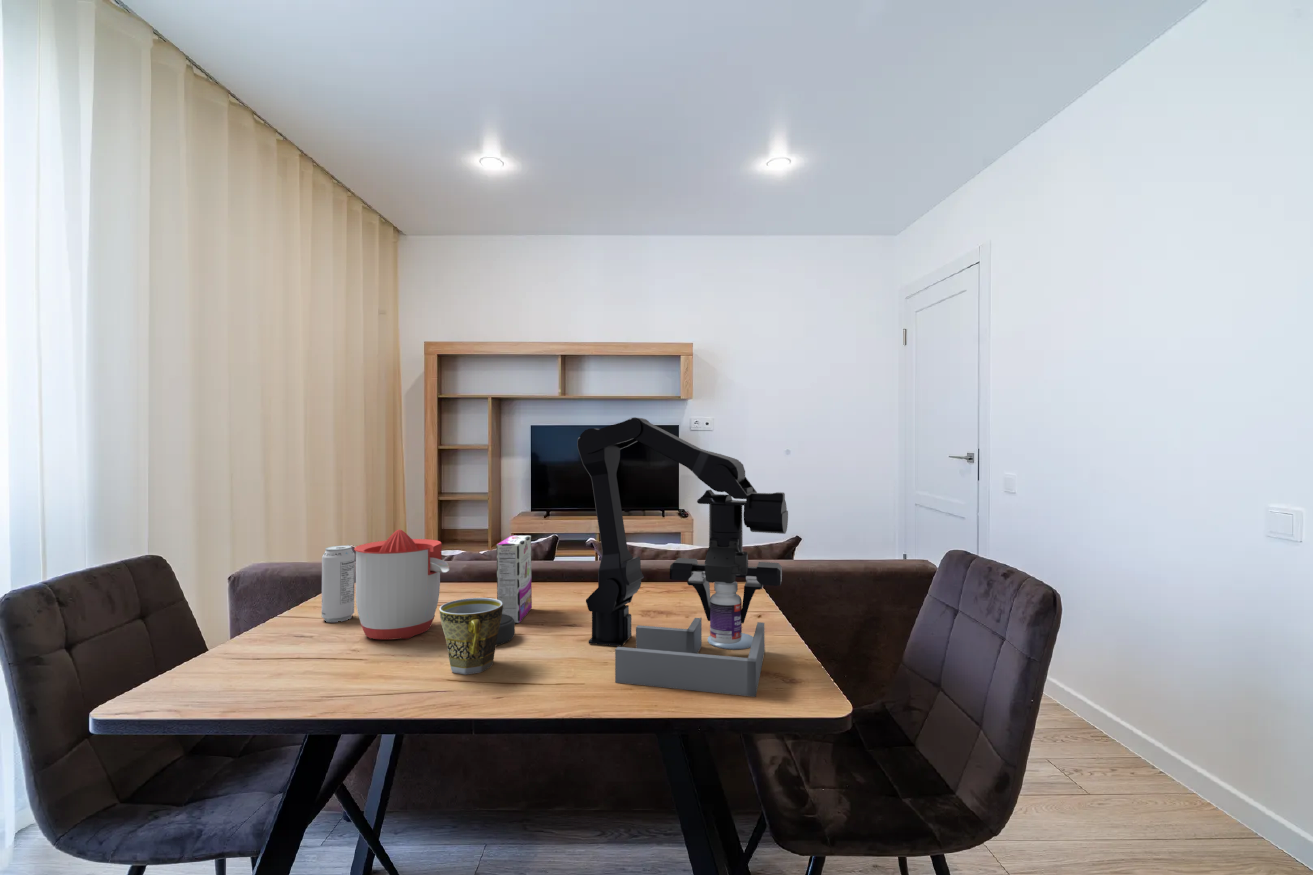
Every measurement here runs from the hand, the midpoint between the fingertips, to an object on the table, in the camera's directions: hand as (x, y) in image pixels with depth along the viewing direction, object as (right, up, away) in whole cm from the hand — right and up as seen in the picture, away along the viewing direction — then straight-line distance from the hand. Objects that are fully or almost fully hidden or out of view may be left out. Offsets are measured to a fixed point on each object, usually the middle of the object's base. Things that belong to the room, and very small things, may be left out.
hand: (725, 621), depth 99 cm
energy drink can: (-79, -7, +22) cm, 82 cm away
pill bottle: (0, -3, 0) cm, 3 cm away
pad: (+2, -6, +8) cm, 10 cm away
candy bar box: (-42, -7, +24) cm, 49 cm away
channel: (-6, -6, -4) cm, 9 cm away
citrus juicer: (-61, -7, +14) cm, 63 cm away
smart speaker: (-43, -7, +9) cm, 44 cm away
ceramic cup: (-42, -6, -6) cm, 43 cm away
